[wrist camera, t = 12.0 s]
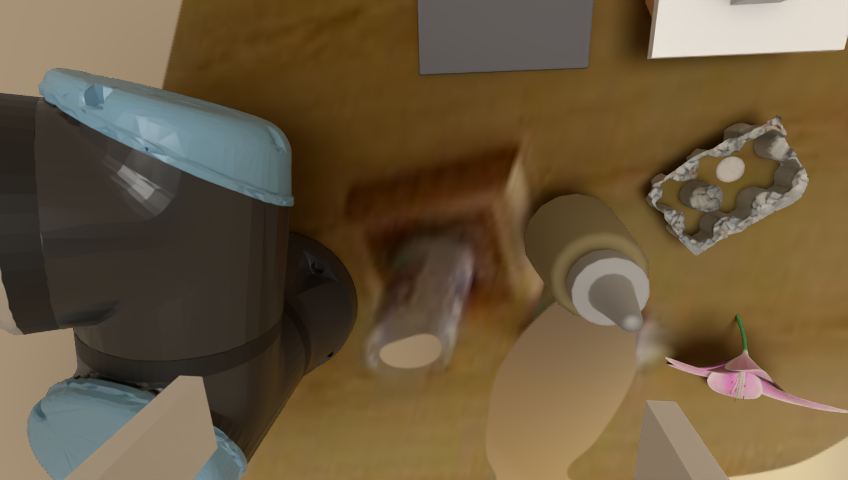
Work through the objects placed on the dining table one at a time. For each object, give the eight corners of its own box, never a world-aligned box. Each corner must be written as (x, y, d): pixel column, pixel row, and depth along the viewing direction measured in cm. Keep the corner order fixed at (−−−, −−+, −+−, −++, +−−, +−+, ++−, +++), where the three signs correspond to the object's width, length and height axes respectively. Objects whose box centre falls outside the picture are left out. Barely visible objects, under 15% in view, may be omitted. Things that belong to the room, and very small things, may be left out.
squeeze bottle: (618, 252, 39) (728, 366, 22) (534, 278, 41) (576, 401, 24) (595, 172, 37) (697, 228, 20) (508, 203, 39) (533, 278, 22)
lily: (633, 308, 42) (649, 402, 35) (774, 267, 34) (827, 376, 28) (686, 361, 47) (708, 451, 40) (818, 335, 39) (872, 441, 33)
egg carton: (751, 108, 34) (787, 108, 30) (791, 181, 36) (829, 190, 32) (632, 182, 37) (650, 190, 33) (672, 247, 38) (695, 263, 35)
